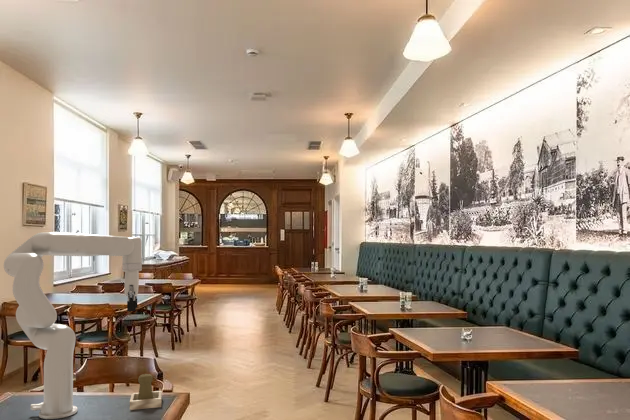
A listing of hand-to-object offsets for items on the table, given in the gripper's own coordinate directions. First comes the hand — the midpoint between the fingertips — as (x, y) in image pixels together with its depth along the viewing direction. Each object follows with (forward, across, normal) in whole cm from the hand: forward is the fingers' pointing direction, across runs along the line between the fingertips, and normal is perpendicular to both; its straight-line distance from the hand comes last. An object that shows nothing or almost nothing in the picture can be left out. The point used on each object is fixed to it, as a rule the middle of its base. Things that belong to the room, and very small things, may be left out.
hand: (132, 309), depth 224 cm
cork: (+34, +18, +6) cm, 38 cm away
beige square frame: (+33, +18, +6) cm, 38 cm away
